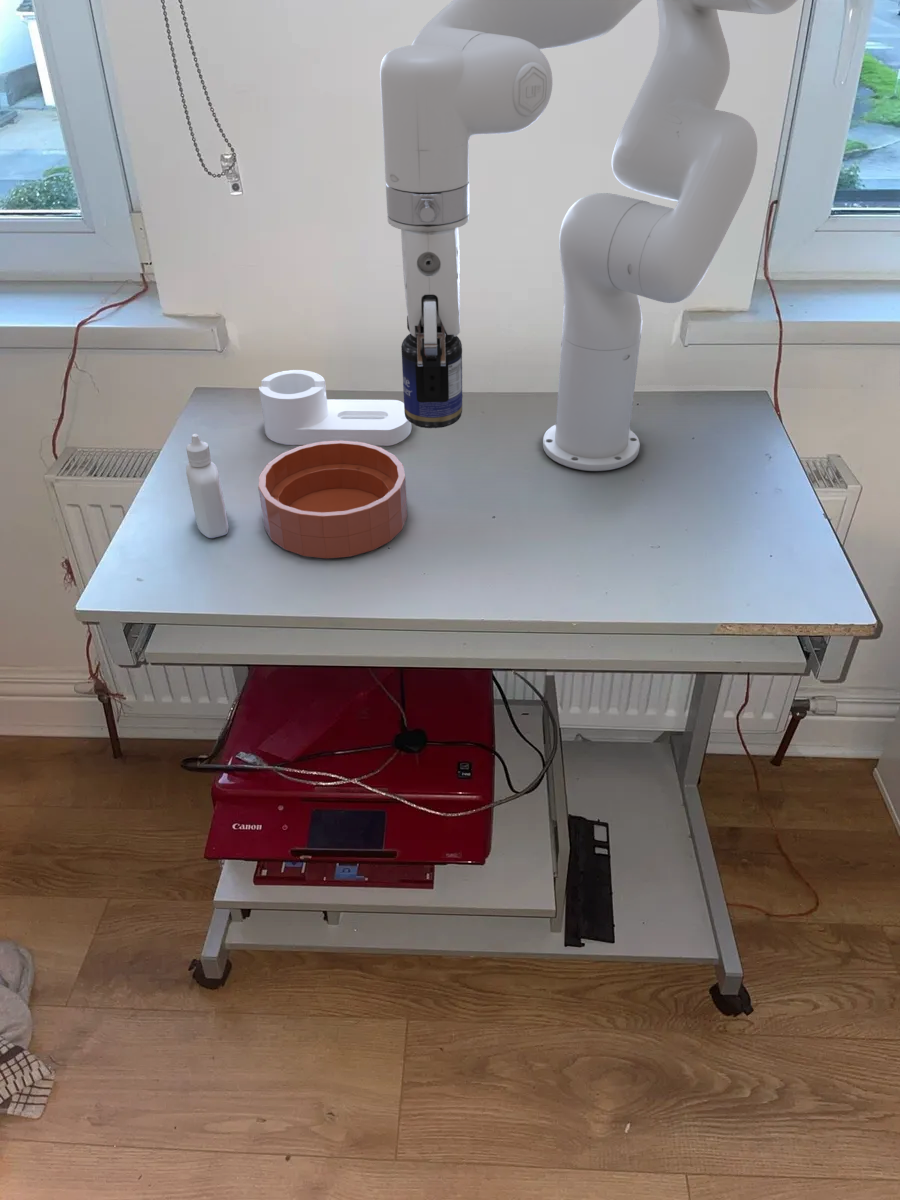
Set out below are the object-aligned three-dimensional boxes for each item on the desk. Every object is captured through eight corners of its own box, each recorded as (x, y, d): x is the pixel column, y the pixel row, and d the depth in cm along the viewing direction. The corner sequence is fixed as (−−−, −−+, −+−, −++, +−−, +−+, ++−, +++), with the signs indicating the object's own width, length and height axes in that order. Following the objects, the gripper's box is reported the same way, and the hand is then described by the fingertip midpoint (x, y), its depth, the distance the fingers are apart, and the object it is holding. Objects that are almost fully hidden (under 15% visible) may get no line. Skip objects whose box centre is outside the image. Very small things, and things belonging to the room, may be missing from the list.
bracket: (259, 444, 126) (252, 398, 122) (271, 414, 133) (265, 369, 129) (409, 445, 126) (407, 399, 121) (413, 415, 132) (411, 370, 128)
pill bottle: (403, 404, 102) (398, 304, 95) (460, 401, 102) (459, 301, 95) (405, 431, 97) (400, 328, 90) (464, 429, 97) (464, 325, 90)
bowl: (319, 471, 121) (314, 428, 117) (432, 504, 114) (431, 460, 111) (236, 536, 109) (228, 491, 106) (356, 576, 103) (352, 531, 99)
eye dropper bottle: (237, 513, 113) (220, 423, 106) (225, 540, 109) (208, 448, 101) (201, 512, 113) (182, 422, 106) (188, 539, 109) (167, 447, 101)
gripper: (472, 232, 79) (471, 425, 90) (466, 176, 93) (467, 349, 104) (382, 234, 79) (393, 426, 90) (390, 177, 93) (399, 350, 104)
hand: (432, 383), depth 97 cm, fingers closed on pill bottle, 6 cm apart
